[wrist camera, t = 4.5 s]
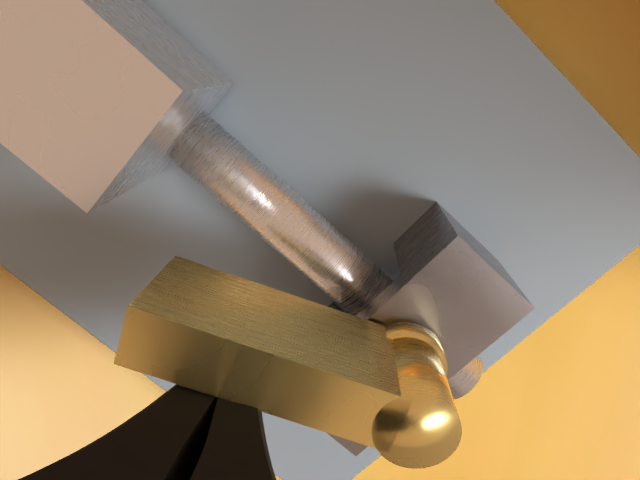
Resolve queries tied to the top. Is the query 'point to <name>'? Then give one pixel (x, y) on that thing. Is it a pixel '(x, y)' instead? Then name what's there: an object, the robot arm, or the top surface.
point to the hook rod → (155, 132)
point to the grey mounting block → (447, 292)
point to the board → (352, 170)
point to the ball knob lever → (295, 361)
